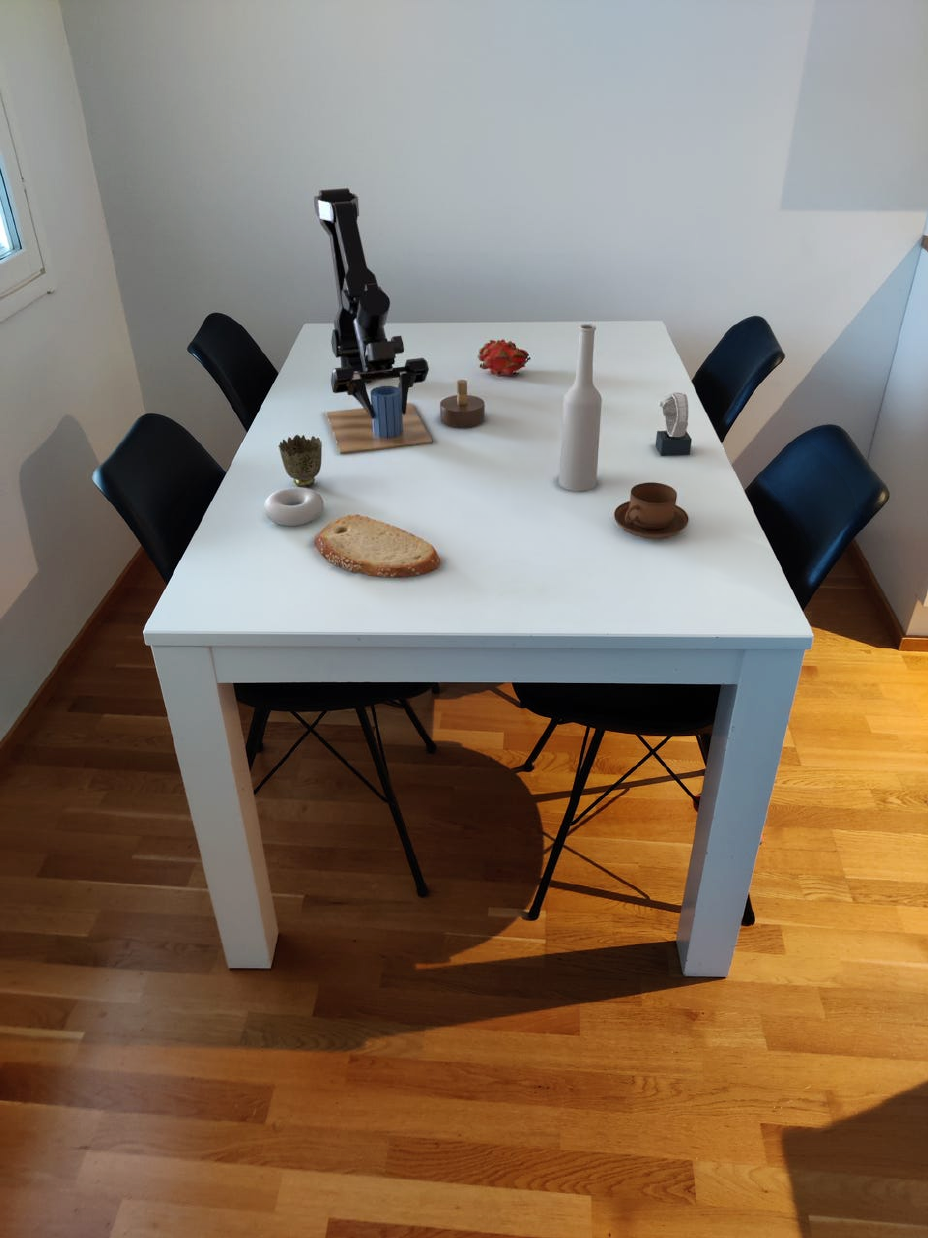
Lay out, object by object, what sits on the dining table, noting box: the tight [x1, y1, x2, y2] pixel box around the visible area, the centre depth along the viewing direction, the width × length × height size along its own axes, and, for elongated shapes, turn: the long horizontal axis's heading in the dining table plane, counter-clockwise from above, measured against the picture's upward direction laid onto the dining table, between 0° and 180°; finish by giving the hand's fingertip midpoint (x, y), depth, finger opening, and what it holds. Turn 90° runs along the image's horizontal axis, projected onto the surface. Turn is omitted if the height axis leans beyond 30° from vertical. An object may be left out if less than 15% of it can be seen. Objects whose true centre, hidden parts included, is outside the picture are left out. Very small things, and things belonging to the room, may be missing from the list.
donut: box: [263, 486, 325, 527], centre depth 159 cm, size 10×4×10 cm
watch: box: [655, 392, 693, 457], centre depth 176 cm, size 6×8×11 cm
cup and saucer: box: [613, 481, 689, 539], centre depth 153 cm, size 12×12×6 cm
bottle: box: [558, 323, 603, 493], centre depth 160 cm, size 7×7×28 cm
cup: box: [278, 434, 323, 488], centre depth 167 cm, size 8×7×8 cm
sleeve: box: [369, 385, 403, 438], centre depth 184 cm, size 6×6×8 cm
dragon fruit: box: [477, 338, 531, 378], centre depth 211 cm, size 8×8×12 cm
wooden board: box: [325, 402, 433, 455], centre depth 189 cm, size 20×18×1 cm
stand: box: [439, 379, 486, 429], centre depth 190 cm, size 9×9×8 cm
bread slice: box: [313, 513, 442, 579], centre depth 148 cm, size 18×18×4 cm
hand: (388, 415), depth 183 cm, fingers open, 6 cm apart
